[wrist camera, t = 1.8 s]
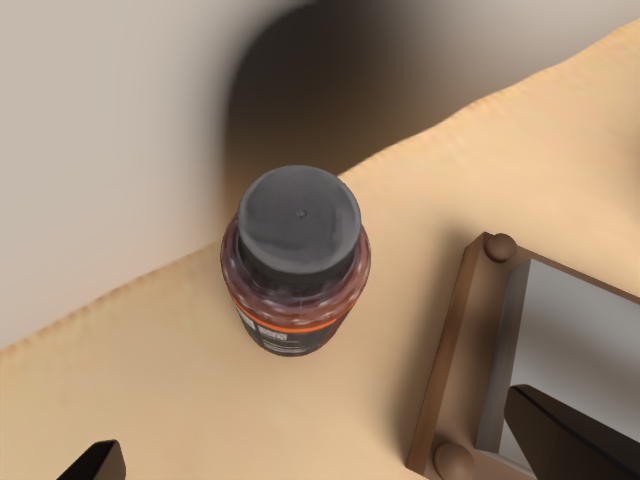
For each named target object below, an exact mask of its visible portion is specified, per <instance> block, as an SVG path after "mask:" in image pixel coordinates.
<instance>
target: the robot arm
mask: <svg viewBox="0 0 640 480" xmlns="http://www.w3.org/2000/svg"><path fill="white" fill-rule="evenodd" d="M503 412H504V418H505V421H506V423H507V425H508V427H509V429H510V430H511V432H512V434H513V436H514V438H515V440H516V442H517V443H518V445H519V447H520V449H521V451H522V453H523V454H524V456H525V458H526V460H527V462H528V464H529V465H530V467H531V469H532V471H533V473H534V475H535V477H536V478H537V480H640V443H639V442H638V441H636V440H634V439H632V438H630V437H628V436H626V435H624V434H622V433H620V432H618V431H617V430H615V429H613V428H611V427H609V426H607V425H605V424H603V423H601V422H599V421H597V420H595V419H594V418H592V417H590V416H588V415H586V414H584V413H582V412H580V411H578V410H576V409H574V408H572V407H571V406H569V405H567V404H565V403H563V402H561V401H559V400H557V399H555V398H553V397H551V396H549V395H548V394H546V393H544V392H542V391H540V390H538V389H536V388H534V387H532V386H530V385H528V384H519V385H512V386H510V387H509V389H508V392H507V396H506V401H505V405H504V411H503ZM125 477H126V466H125V462H124V459H123V455H122V451H121V447H120V444H119V442H118V441H117V440H114V439H113V440H106V441H99V442H96V443H94V444H93V445H91V446H90V447H89V448H88V449H87V450H86V451H85V452H84V453H83V454H82V455H81V456H80V457H79V458H78V459H77V460H76V461H75V462H74V463H73V464H72V465H71V466H70V467H69V468H68V469H67V470H65V471H64V472H63V473H62V474H61V475H60V476H59V477H58V478H57V479H56V480H125Z"/></svg>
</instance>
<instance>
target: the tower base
mask: <svg viewBox="0 0 640 480" xmlns="http://www.w3.org/2000/svg"><path fill="white" fill-rule="evenodd" d="M519 384H528V385H530V386H532V387H534V388H536V389H538V390H540V391H542V392H544V393H546V394H548V395H549V396H551V397H553V398H555V399H557V400H559V401H561V402H563V403H565V404H567V405H569V406H571V407H572V408H574V409H576V410H578V411H580V412H582V413H584V414H586V415H588V416H590V417H592V418H594V419H595V420H597V421H599V422H601V423H603V424H605V425H607V426H609V427H611V428H613V429H615V430H617V431H618V432H620V433H622V434H624V435H626V436H628V437H630V438H632V439H634V440H636V441H638V442H639V443H640V298H639V297H637V296H634V295H632V294H630V293H627V292H625V291H623V290H620V289H618V288H616V287H613V286H611V285H609V284H606V283H604V282H602V281H599V280H597V279H595V278H592V277H590V276H588V275H585V274H583V273H581V272H578V271H576V270H574V269H571V268H569V267H567V266H564V265H562V264H560V263H557V262H555V261H553V260H550V259H548V258H545V257H543V256H541V255H538V254H536V253H534V252H531V251H529V250H527V249H524V248H522V247H520V246H517V244H516V242H515V241H514V240H513V239H512V238H511V237H510V236H508V235H506V234H502V233H499V234H496V235H492V234H489V233H487V232H483V233H482V234H481V235H480V236H479V237H478V238H476V239H475V240H474V241H473V242H472V243H471V244H469V245H468V246H467V247H466V248H465V252H464V255H463V259H462V263H461V266H460V270H459V274H458V277H457V281H456V285H455V288H454V292H453V296H452V299H451V303H450V307H449V310H448V314H447V318H446V321H445V325H444V329H443V332H442V336H441V340H440V343H439V347H438V351H437V354H436V358H435V362H434V365H433V369H432V373H431V376H430V380H429V384H428V387H427V391H426V395H425V398H424V402H423V406H422V409H421V413H420V417H419V420H418V424H417V428H416V431H415V435H414V439H413V442H412V446H411V449H410V453H409V457H408V460H407V464H406V468H408V469H410V470H412V471H414V472H416V473H418V474H419V475H421V476H423V477H425V478H427V479H429V480H537V478H536V477H535V475H534V473H533V471H532V469H531V467H530V465H529V464H528V462H527V460H526V458H525V456H524V454H523V453H522V451H521V449H520V447H519V445H518V443H517V442H516V440H515V438H514V436H513V434H512V432H511V430H510V429H509V427H508V425H507V423H506V421H505V418H504V412H503V411H504V405H505V401H506V396H507V392H508V389H509V387H510V386H512V385H519Z"/></svg>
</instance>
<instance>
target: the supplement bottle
mask: <svg viewBox="0 0 640 480" xmlns="http://www.w3.org/2000/svg"><path fill="white" fill-rule="evenodd" d="M220 261H221V267H222V273H223V276H224V280H225V282H226V285H227V287H228V290H229V292H230V295H231V297H232V299H233V301H234V303H235V305H236V308H237V310H238V312H239V315H240V317H241V319H242V322H243V324H244V326H245V328H246V330H247V331H248V333H249V335H250V336H251V337H252V338H253V340H254V341H255V342H256V343H257V344H258V345H259V346H260V347H262V348H264V349H265V350H267V351H269V352H271V353H273V354H276V355H279V356H285V357H298V356H304V355H307V354H309V353H312V352H314V351H316V350H318V349H319V348H321V347H322V346H323V345H324V344H326V343H327V342H328V341H329V340H330V339H331V338H332V336H333V335H334V334H335V333H336V331H337V329H338V328H339V326H340V325H341V324H342V322H343V320H344V319H345V317H346V316H347V314H348V313H349V311H350V310H351V309H352V307H353V306H354V304H355V303H356V301H357V299H358V298H359V296H360V295H361V293H362V291H363V289H364V287H365V285H366V282H367V279H368V275H369V271H370V266H371V248H370V243H369V240H368V237H367V233H366V231H365V229H364V227H363V225H362V223H361V214H360V209H359V205H358V203H357V200H356V198H355V197H354V195H353V193H352V192H351V191H350V189H349V188H348V187H347V186H346V185H345V183H343V182H342V181H341V180H340V179H339V178H338V177H336V176H334V175H333V174H331V173H329V172H326V171H324V170H322V169H320V168H315V167H311V166H305V165H304V166H303V165H290V166H283V167H279V168H276V169H273V170H271V171H269V172H267V173H265V174H263V175H262V176H260V177H259V178H258V179H257V180H256V181H254V182H253V183H252V184H251V185H250V186H249V187H248V188H247V190H246V191H245V193H244V194H243V196H242V198H241V200H240V203H239V207H238V211H237V213H236V214H235V216H234V217H233V218H232V219H231V221H230V223H229V224H228V226H227V228H226V232H225V234H224V237H223V241H222V245H221V254H220Z"/></svg>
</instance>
